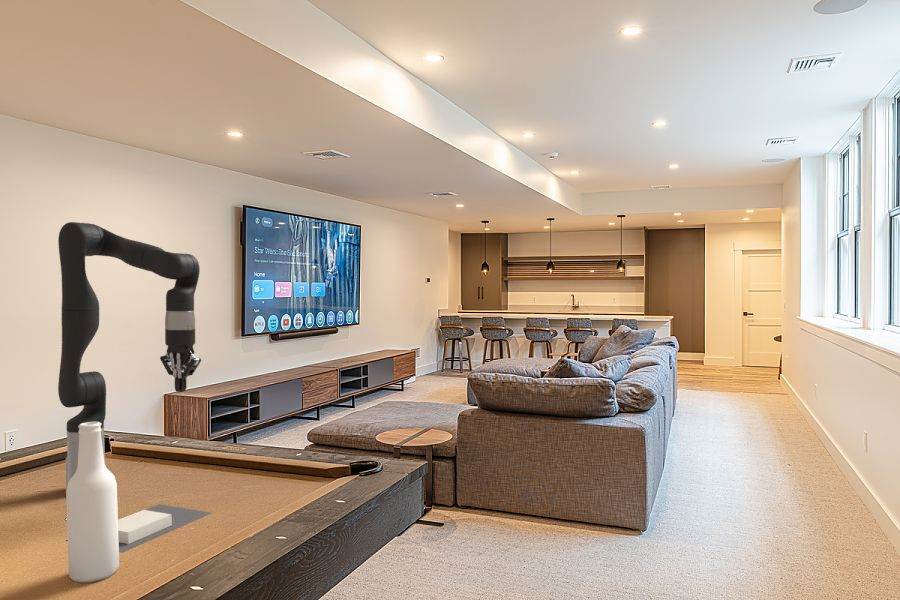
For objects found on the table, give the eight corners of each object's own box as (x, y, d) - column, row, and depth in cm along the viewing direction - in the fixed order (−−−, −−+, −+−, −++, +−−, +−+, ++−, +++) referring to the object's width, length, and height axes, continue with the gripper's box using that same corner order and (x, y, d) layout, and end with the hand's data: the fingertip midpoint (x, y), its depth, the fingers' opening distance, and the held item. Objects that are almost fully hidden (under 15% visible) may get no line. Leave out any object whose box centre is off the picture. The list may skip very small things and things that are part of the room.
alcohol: (66, 587, 124) (60, 430, 123) (72, 569, 132) (67, 421, 131) (117, 578, 127) (113, 425, 127) (120, 561, 136) (116, 417, 135)
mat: (65, 542, 146) (65, 540, 146) (159, 505, 170) (159, 504, 170) (122, 554, 139) (122, 552, 139) (212, 514, 163) (212, 512, 163)
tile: (144, 520, 158) (99, 538, 147) (143, 509, 158) (99, 526, 147) (171, 525, 154) (128, 544, 143) (171, 514, 154) (128, 532, 143)
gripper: (150, 327, 175) (151, 391, 176) (188, 329, 170) (188, 395, 171) (173, 325, 182) (173, 387, 183) (209, 327, 177) (209, 391, 178)
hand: (180, 391), depth 177 cm, fingers closed
